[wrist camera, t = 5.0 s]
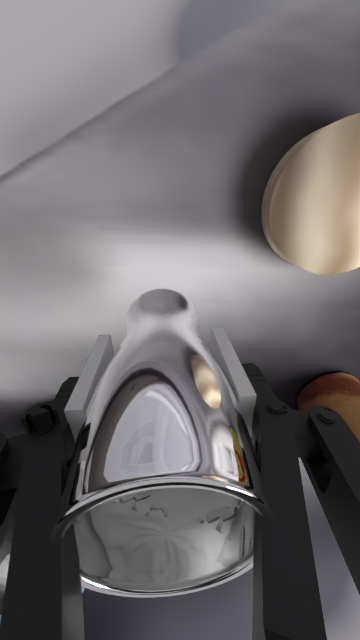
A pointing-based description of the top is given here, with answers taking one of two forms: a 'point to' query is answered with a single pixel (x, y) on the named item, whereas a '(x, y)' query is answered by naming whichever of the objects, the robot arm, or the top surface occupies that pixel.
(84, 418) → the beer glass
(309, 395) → the wafer roll
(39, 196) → the top surface
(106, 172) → the top surface
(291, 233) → the beige round disc
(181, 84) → the top surface
